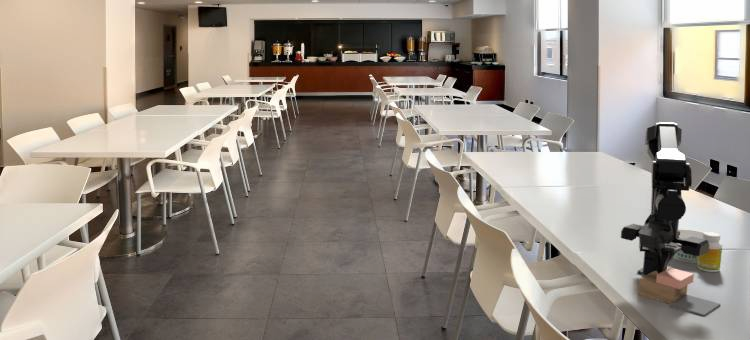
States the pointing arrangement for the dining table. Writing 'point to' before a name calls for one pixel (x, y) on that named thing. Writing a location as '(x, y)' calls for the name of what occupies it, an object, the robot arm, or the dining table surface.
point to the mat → (695, 305)
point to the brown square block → (659, 289)
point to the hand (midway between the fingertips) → (660, 273)
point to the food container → (684, 235)
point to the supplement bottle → (711, 253)
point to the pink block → (675, 278)
